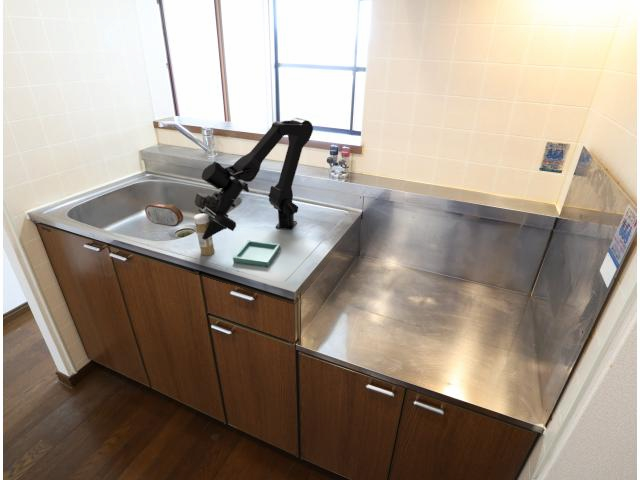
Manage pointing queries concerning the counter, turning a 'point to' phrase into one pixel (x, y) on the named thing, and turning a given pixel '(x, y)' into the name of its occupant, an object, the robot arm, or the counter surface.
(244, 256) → the teal tray
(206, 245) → the sprinkles bottle
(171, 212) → the tin
